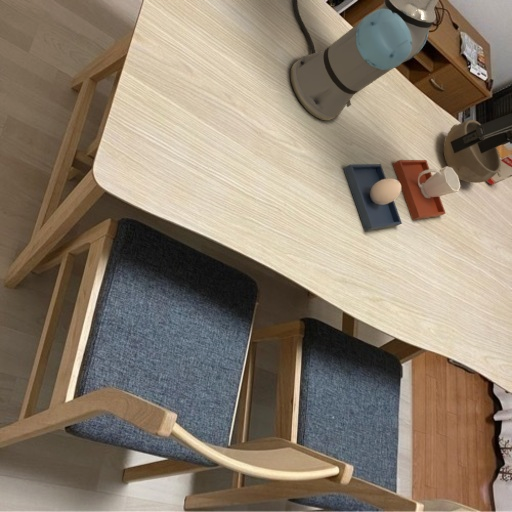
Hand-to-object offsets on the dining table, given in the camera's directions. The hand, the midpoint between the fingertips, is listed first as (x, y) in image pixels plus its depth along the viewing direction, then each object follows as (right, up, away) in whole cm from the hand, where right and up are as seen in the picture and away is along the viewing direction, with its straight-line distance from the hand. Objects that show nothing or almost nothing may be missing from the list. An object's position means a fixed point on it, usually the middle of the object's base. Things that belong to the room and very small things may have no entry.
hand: (466, 148), depth 132 cm
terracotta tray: (-7, -8, +15) cm, 19 cm away
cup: (-6, -7, +17) cm, 19 cm away
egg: (-22, -12, 0) cm, 25 cm away
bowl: (+9, +2, +34) cm, 36 cm away
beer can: (+23, 0, +46) cm, 52 cm away
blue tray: (-22, -12, +1) cm, 25 cm away
